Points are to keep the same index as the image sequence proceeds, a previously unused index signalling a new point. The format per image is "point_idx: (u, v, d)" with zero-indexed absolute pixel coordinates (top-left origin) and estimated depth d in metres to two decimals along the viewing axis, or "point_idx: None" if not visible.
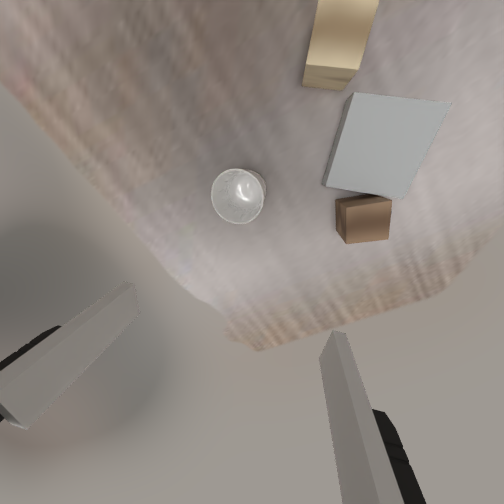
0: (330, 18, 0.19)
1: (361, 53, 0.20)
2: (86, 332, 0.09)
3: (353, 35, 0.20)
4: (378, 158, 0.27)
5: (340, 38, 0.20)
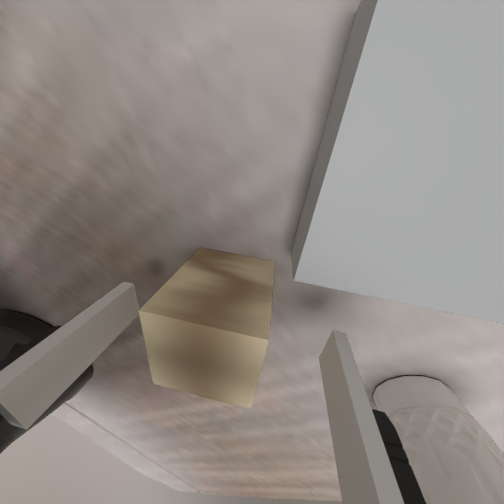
0: (188, 377, 0.10)
1: (238, 336, 0.08)
2: (86, 332, 0.09)
3: (208, 350, 0.09)
4: None
5: (214, 367, 0.09)
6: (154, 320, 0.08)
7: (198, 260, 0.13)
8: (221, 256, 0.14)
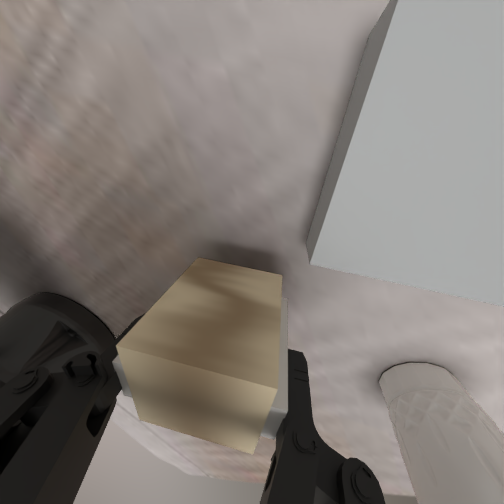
0: (179, 418, 0.08)
1: (239, 382, 0.06)
2: None
3: (202, 393, 0.07)
4: None
5: (209, 411, 0.08)
6: (135, 357, 0.07)
7: (194, 274, 0.11)
8: (222, 268, 0.12)
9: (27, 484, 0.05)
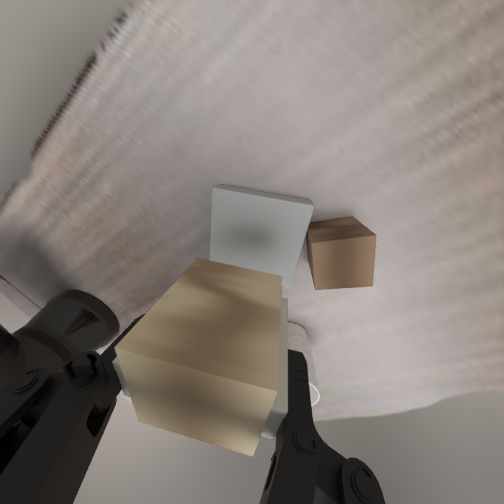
0: (179, 419, 0.08)
1: (238, 384, 0.06)
2: None
3: (201, 395, 0.07)
4: (262, 244, 0.24)
5: (209, 413, 0.08)
6: (134, 359, 0.07)
7: (194, 275, 0.11)
8: (221, 269, 0.12)
9: (27, 484, 0.05)
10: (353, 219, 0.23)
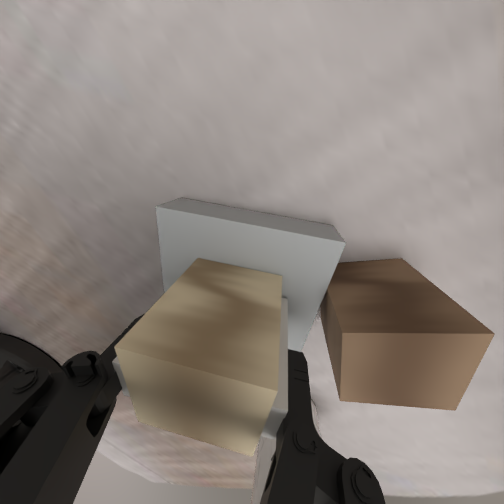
0: (179, 420, 0.08)
1: (238, 384, 0.06)
2: None
3: (201, 394, 0.07)
4: None
5: (209, 413, 0.08)
6: (134, 359, 0.07)
7: (194, 275, 0.11)
8: (221, 269, 0.12)
9: (27, 484, 0.05)
10: (407, 266, 0.13)
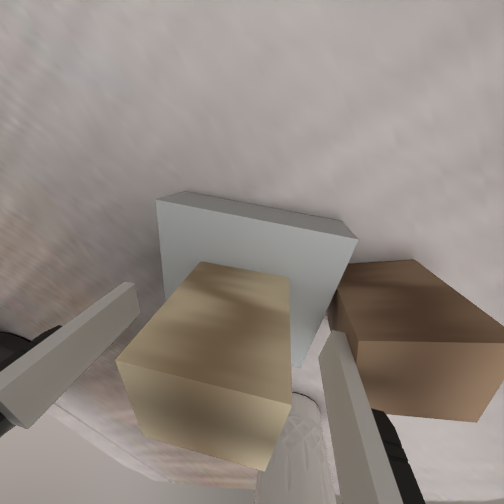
0: (185, 434, 0.08)
1: (249, 397, 0.06)
2: (87, 331, 0.09)
3: (209, 408, 0.07)
4: None
5: (217, 427, 0.07)
6: (136, 372, 0.06)
7: (197, 279, 0.11)
8: (225, 272, 0.12)
9: None
10: (421, 269, 0.12)
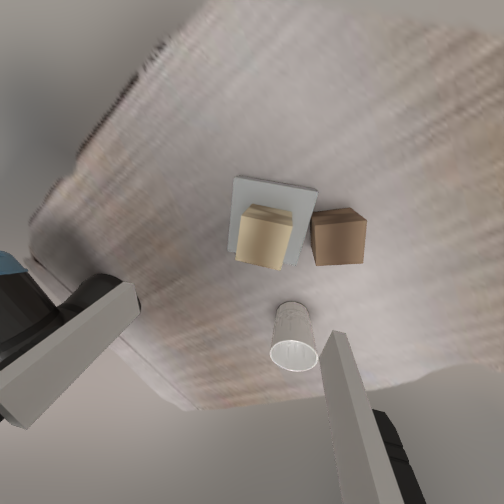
0: (254, 253, 0.23)
1: (280, 225, 0.21)
2: (86, 332, 0.09)
3: (266, 234, 0.21)
4: None
5: (267, 244, 0.22)
6: (246, 220, 0.21)
7: (254, 207, 0.25)
8: (264, 207, 0.26)
9: None
10: (350, 209, 0.27)
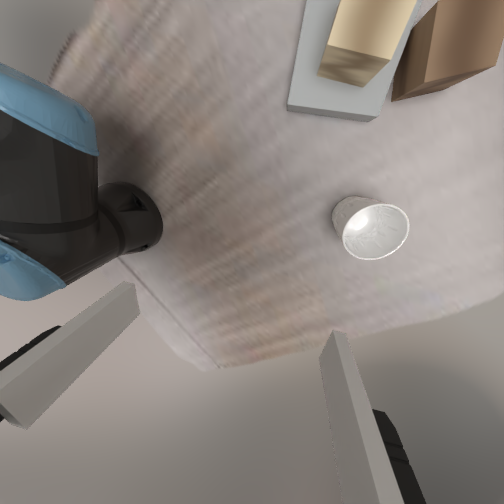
0: (360, 25, 0.16)
1: None
2: (86, 332, 0.09)
3: None
4: None
5: (385, 3, 0.15)
6: None
7: None
8: None
9: None
10: None
